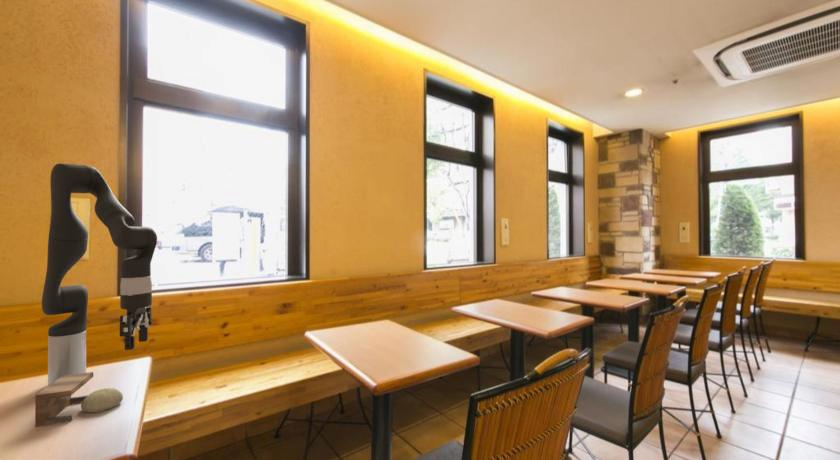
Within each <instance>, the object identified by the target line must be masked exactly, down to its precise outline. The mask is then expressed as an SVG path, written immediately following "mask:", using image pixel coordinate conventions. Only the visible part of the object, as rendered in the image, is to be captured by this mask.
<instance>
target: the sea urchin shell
mask: <svg viewBox="0 0 840 460" xmlns="http://www.w3.org/2000/svg"><path fill="white" fill-rule="evenodd" d="M87 395H88V396H87V397H86V398H85V399H84V400H83V402H81V403H80V408H81V409H80V410H81V411H82V412H84V413H101V412H104V411H108V410H111V409H112V408H115V407H116V406H118V405H119V404H120V403H121V402H122V401H123V399H124V397H123V396H124V395H123V393H122V392H121V391H119V390H118V389H116V388H112V387H110V388H109V387H107V388H101V389H98V390H95V391H92V392H91V393H89V394H87Z"/></svg>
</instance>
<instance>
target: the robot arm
mask: <svg viewBox="0 0 840 460" xmlns="http://www.w3.org/2000/svg"><path fill="white" fill-rule="evenodd" d="M49 179H50V184H49V185H50V222H49V223H50V225H49V232H48V240H47V262H46V263H47V264H46V275H45V279H44V283H43V284H44V285H43V290H42V295H41V296H42V297H41V311H42V312H43V314H44V315H46V316H55V315H57V316H58V315H63V314H71V315H69V316H68V317H67V318H65V319H63V320H61V321H60V322H59V321H58V322H57V323H55V324H52V325H51V326H49V327H48V331H47V333H48V334H47V335H48V336H47V337H48V338H47V346H48V347H47V349H48V351H47V387H48V386H49V385H50V384H52V383H53V382H55V381H56V380H57V379H59V378H60V377H62V376H65V375H73V374H81V373H87V323H88V321H87V320H88V319H87V318H88V305H89V291H88V289H87V287H86V286H85V285H83V284H76V285H65V286H61V284H62V282H63V279H64V278H65V276H66V275H67V273H68V272H69V271H70V270H71V269H72V268H73V267H74V266H75V265H76V264H77V263H78V262H79V261H80V260H81V259H82V258H83V257H84V256H85V254H86V253H87V249H88V241H89V232H88V229H87V227H86V225H85V224H84V223H83V221H82V220H81V218H79V216H78V215H77V213H76V212H75V210H74V208H73V206H72V194H91V195H93V196H94V197H95V198H96V200H95V204H94V213H95V216H96V217H97V218H98V219H99V220H100V222H101V223H102V224H103V225H104V226H105V227H106V228H107V229H108V232H109V235H110V237H111V241H112V244H113V245H114V246H116V247H117V248H118V249H120V250H125V251H126V250H128V251H130V250H133V251H134V250H136V251H135V252H134V253H135V254H134V255H133V256H131V257H126V258H124V259H122V260H121V263H120V275H121V276H120V278H121V279H120V286H119V299H120V300H119V306H120V307H119V308H120V309H121V310H126V314H124V315H120V316H119V337H121V338H122V337H123V338H124V350H125V351H129V350H134V349H135V348H136V343H135V341H136V340H135V339H136V336H135V335H136V332H137V330H138V342H140V343H142V342H147V341H149V328H150V326H152V324H153V323H152V322H153V321H152V320H153V319H152V307H151V306H152V304H153V290H152V289H153V284H152V278H151V271H152V270H151V269H152V268H151V263H152V260H153V256H154V254H155V253H154V252H155V249H156V247H157V243H158V235H157V233H156V231H155V230H154V229H153V228H152V227H149V226H135V223H136V220H135V217H134V216H133V215H132V214H131V212H129V211H128V210H127V209H126V208H125V207H124V206H123V205H122V204H121V202H119V200H118V199H117V198H116V195H115V194H114V192H113V191H112V189H111V187H110V186H109V184H108V183H107V180H106V179H105V178H104V176H103V175H102V173H101V172H100V171H99V170H98V169H97V168H96V167H94V166H91V165H87V164H86V165H85V164H84V165H83V164H74V163H63V162H62V163H57V164H55V165H54V166H53V167H52V169H51V172H50V178H49Z"/></svg>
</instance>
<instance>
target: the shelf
mask: <svg viewBox="0 0 840 460" xmlns="http://www.w3.org/2000/svg"><path fill="white" fill-rule="evenodd" d="M93 378H94V371H92V372H91V371H90V372H86V373H81V374H73V375H65V376H62V377H60V378H59V379H57V380H56V381H55V382H53V383H52V384H50V385H49V386H48V385H47V386H46V387H45V388H43V389H42V390H40V392H38V393H37V394H35V407H34V409H35V410H34V411H35V414H34V416H35V421H34V422H35V423H34V425H35V426H34V427H35V428H37V427H38V428H39V427H46V426H51V425H56V424H62V423H68V422H69V423H70V422H72V421H73V414H66V415H60V416H58V415H59V414H60V413H61V412H62V411H63V410H65V409H66V408H67V407H68V406H69V405H71V404H78V403H82V402H83V400H84V399H85V398H86V397H87V396H88V395H89V394H87V395H81V396H73V395H74V394H75V393H77V392H78V391H79V390H80V389H81V388H82V387H83V386H84V385H85V384H87V383H88V382H89V381H90V380H92V379H93ZM72 396H73V397H72Z"/></svg>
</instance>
